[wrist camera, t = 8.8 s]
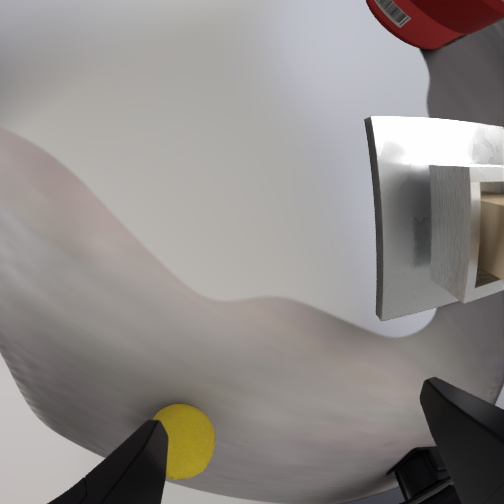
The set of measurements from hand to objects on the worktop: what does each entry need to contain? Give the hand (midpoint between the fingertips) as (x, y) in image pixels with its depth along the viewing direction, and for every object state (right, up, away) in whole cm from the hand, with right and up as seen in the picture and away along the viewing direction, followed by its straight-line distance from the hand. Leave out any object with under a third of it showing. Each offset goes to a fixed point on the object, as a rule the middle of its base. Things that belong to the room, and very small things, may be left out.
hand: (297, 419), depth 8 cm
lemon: (-7, -9, +15) cm, 19 cm away
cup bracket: (+14, +8, +10) cm, 19 cm away
